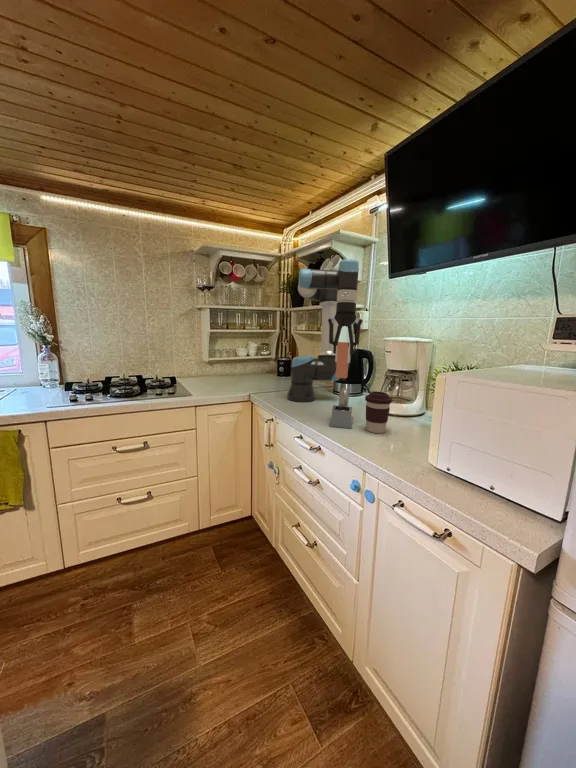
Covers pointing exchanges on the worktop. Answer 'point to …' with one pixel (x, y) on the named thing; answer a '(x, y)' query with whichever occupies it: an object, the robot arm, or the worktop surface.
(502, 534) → the worktop surface
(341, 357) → the orange rectangular bar
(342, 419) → the grey holder stand
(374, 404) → the coffee cup
